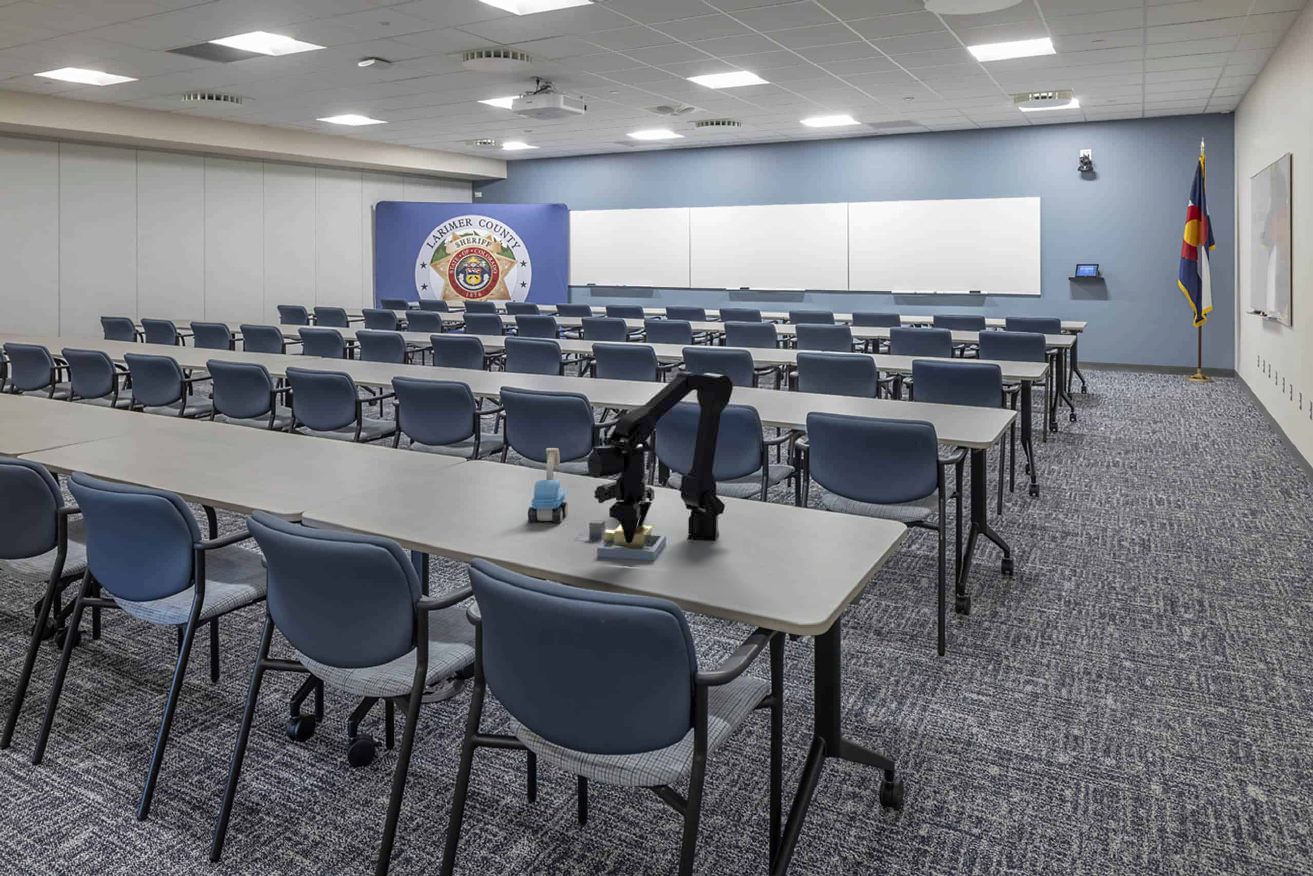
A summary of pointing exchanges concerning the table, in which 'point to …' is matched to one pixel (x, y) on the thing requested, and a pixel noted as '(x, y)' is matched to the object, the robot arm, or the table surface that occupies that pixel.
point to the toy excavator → (548, 494)
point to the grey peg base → (593, 532)
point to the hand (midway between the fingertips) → (632, 538)
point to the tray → (620, 552)
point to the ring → (639, 539)
